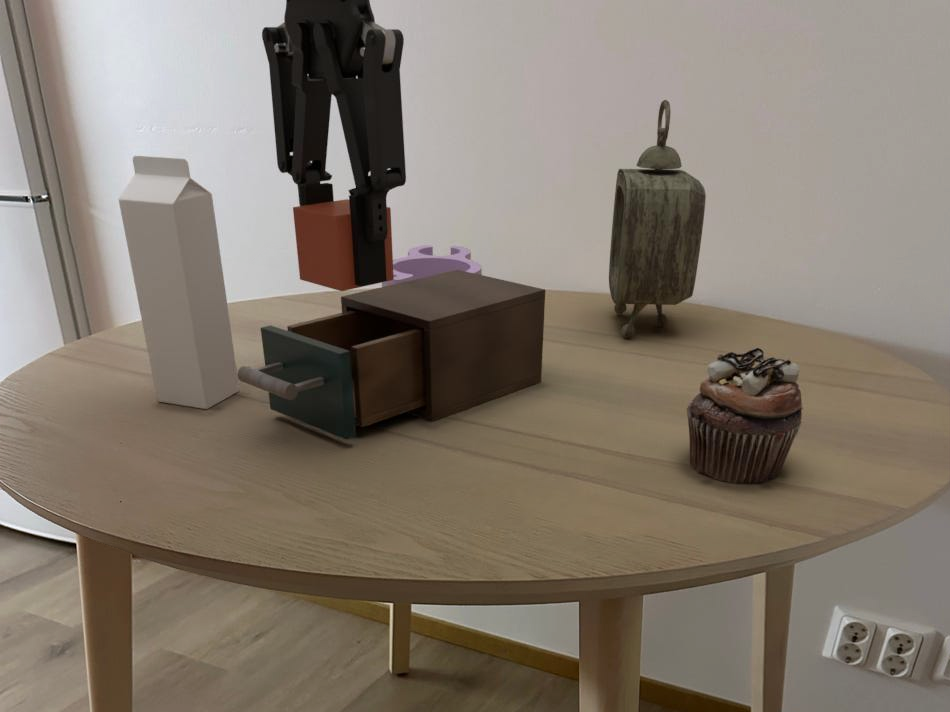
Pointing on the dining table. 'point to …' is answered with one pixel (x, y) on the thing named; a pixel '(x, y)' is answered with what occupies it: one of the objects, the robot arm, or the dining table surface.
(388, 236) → the block
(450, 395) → the cabinet
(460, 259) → the clip
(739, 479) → the cupcake
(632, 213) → the tabletop clock
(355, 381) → the drawer
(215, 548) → the dining table surface
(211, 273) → the milk
